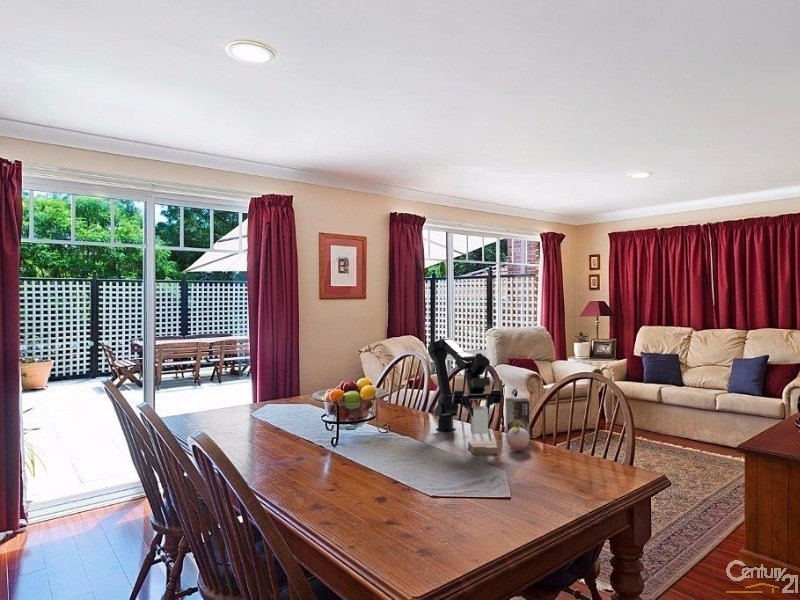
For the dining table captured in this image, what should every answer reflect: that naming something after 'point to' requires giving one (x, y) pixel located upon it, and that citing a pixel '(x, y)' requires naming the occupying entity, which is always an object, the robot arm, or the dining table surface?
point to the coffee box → (517, 414)
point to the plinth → (482, 447)
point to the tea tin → (479, 420)
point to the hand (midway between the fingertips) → (480, 415)
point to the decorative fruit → (518, 438)
